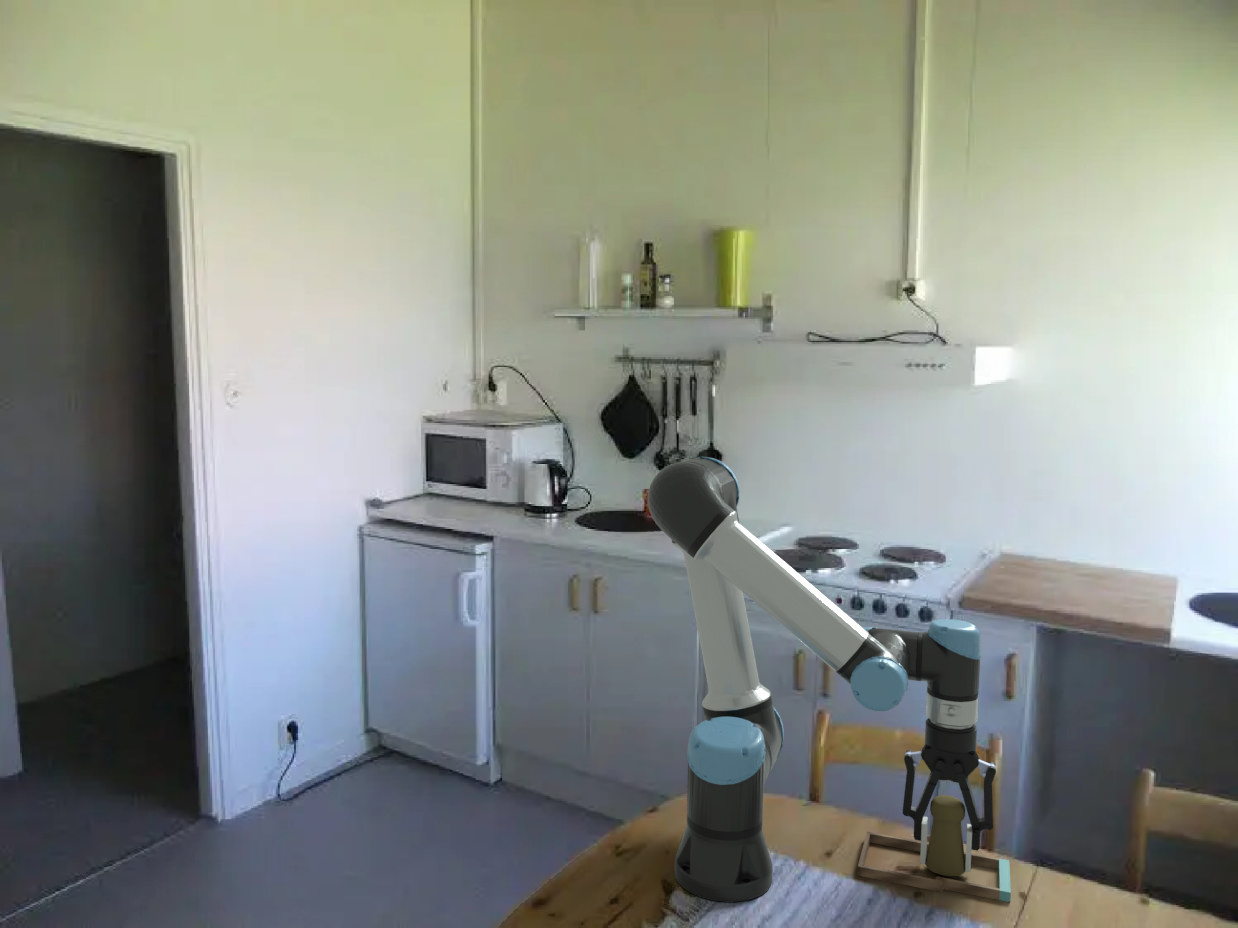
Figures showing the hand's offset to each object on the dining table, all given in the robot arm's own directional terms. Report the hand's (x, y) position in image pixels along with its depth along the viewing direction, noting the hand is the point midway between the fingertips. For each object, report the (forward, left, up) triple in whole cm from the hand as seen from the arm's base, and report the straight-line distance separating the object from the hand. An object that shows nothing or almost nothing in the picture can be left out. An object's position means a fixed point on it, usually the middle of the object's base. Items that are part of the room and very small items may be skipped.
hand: (945, 863), depth 148 cm
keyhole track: (-2, 0, -2) cm, 2 cm away
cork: (0, 0, -1) cm, 1 cm away
